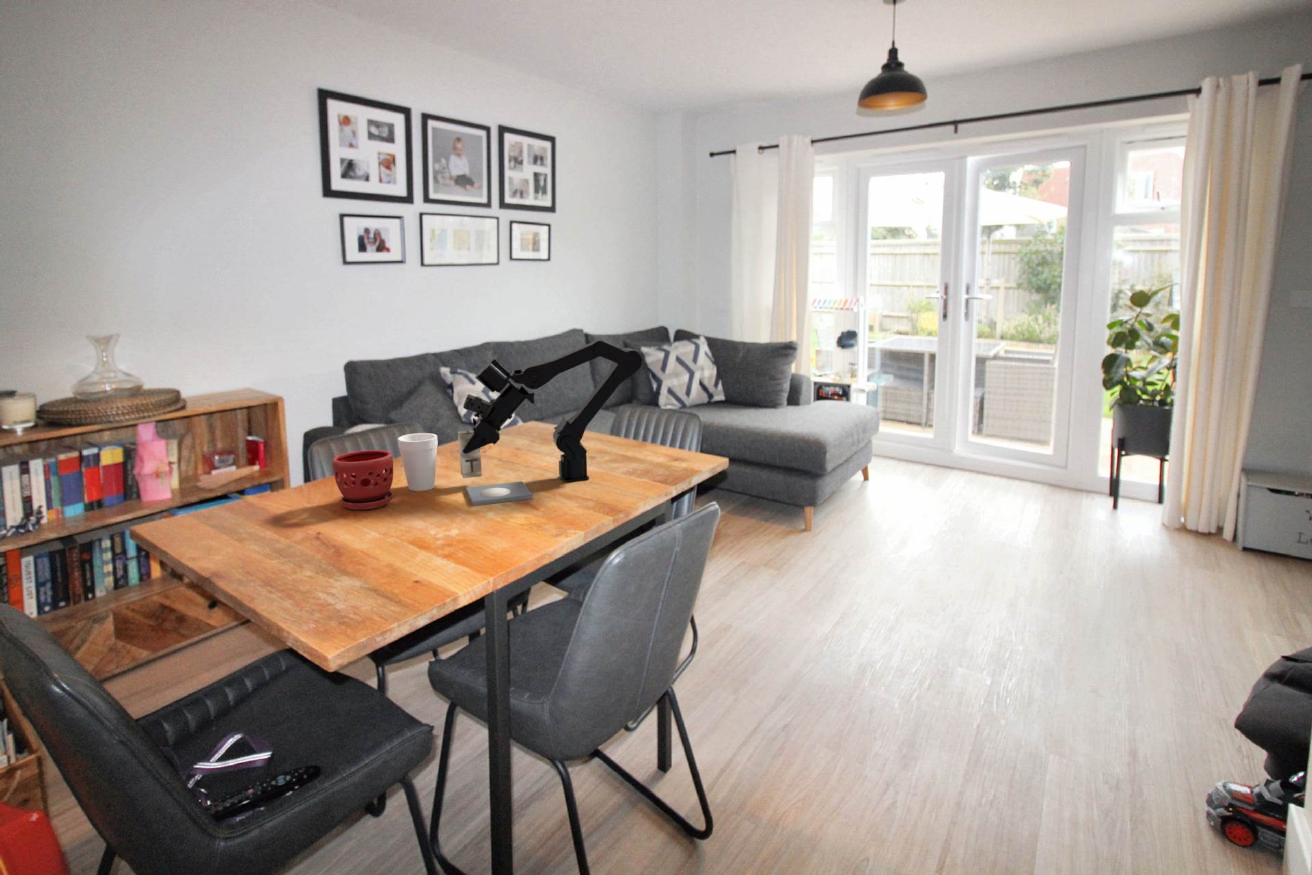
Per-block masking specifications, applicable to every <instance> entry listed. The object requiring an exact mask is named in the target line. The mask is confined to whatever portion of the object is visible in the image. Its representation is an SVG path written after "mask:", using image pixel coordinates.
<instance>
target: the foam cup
mask: <svg viewBox="0 0 1312 875" xmlns="http://www.w3.org/2000/svg"><path fill="white" fill-rule="evenodd" d="M397 444H398V450H399V453H400V457H401V461H402V465H403V470H404V474H405V475H404V476H405V480H406V483H407V487H408V490H410V491H415V492H421V491H428V490H432V489H433V488H435V486H436V485H435V483H436V471H437V470H436V466H437V452H438V451H437V450H438V448H437V447H438V445H439V443H438V435H437V434H435V433H430V432H429V433H428V432H419V433H418V432H417V433H410V434H409V433H408V434H403V435H401V436H399V437H398V438H397Z"/></svg>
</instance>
